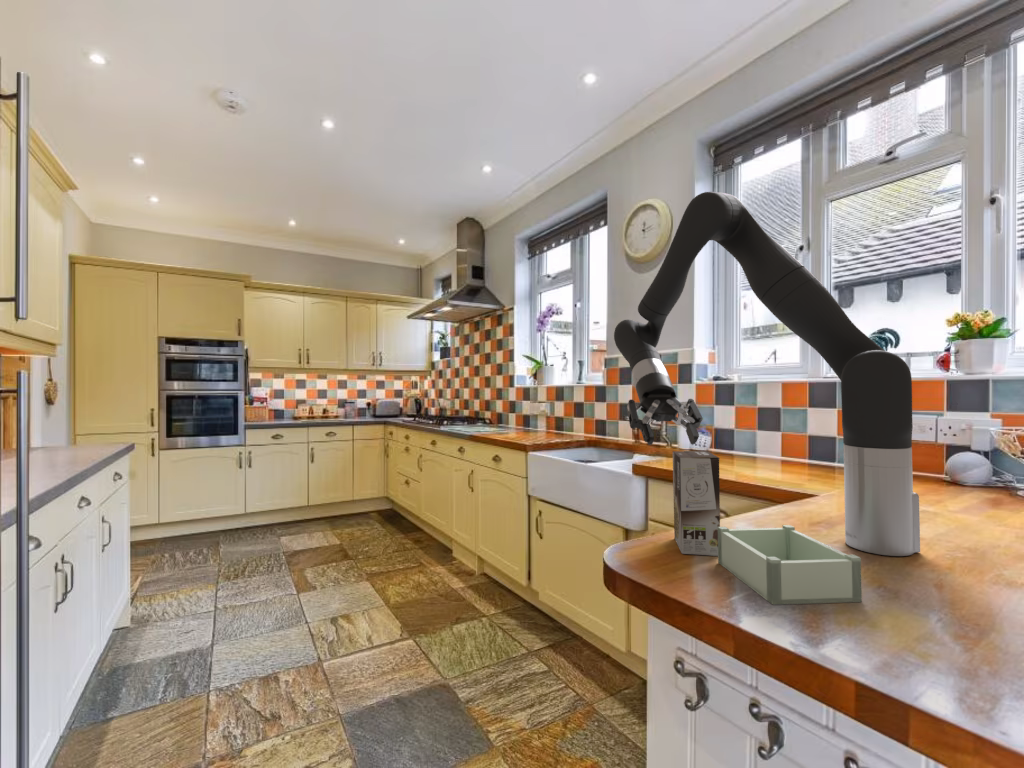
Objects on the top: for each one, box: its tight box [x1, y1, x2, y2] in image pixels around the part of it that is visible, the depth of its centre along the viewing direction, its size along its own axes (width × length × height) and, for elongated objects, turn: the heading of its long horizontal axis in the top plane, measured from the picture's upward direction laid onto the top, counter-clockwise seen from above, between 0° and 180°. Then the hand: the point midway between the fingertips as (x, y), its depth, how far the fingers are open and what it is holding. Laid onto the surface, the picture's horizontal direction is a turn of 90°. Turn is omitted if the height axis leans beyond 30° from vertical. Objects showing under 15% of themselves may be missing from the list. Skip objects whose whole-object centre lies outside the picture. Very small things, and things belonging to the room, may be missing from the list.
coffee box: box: [672, 450, 721, 557], centre depth 83 cm, size 9×6×16 cm
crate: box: [717, 524, 863, 606], centre depth 68 cm, size 12×15×6 cm
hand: (673, 441), depth 93 cm, fingers open, 8 cm apart
